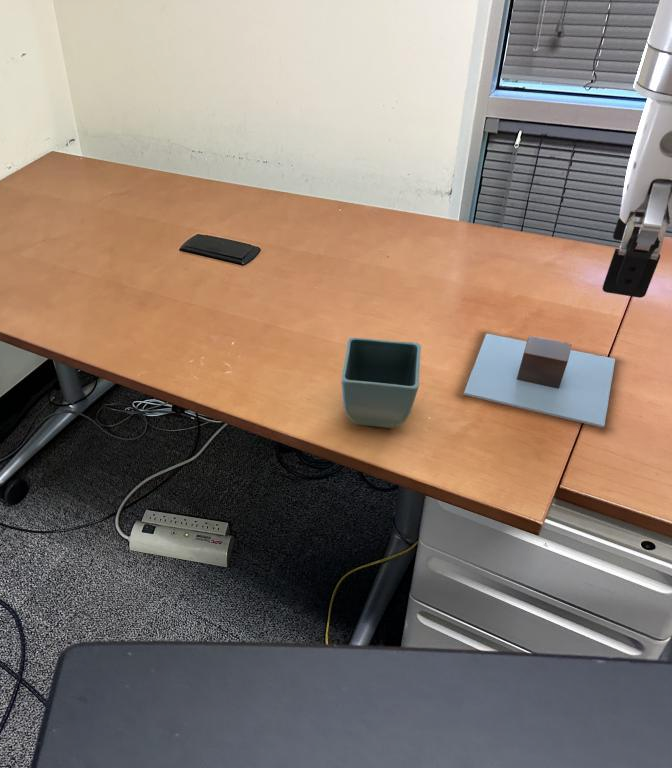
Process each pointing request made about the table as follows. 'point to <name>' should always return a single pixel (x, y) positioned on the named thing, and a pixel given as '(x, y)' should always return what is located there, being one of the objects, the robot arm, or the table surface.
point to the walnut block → (544, 361)
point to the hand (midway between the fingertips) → (627, 265)
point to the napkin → (571, 401)
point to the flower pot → (380, 381)
